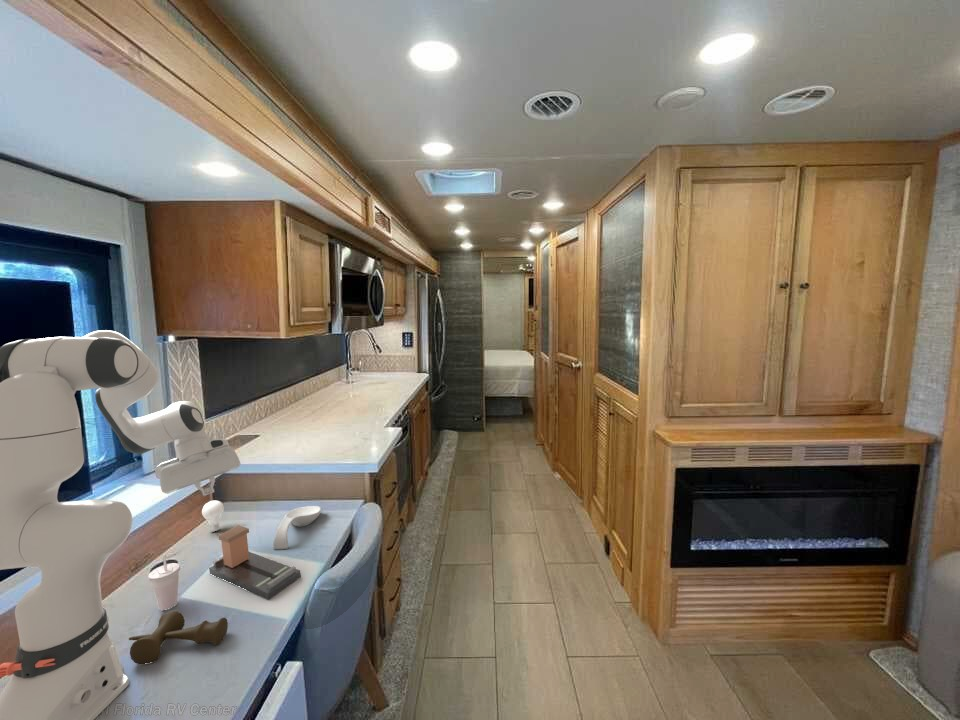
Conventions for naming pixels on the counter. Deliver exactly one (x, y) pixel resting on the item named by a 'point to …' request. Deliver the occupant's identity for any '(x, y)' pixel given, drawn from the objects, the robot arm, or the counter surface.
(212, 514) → the lightbulb
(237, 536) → the fader knob
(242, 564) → the fader track
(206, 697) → the counter surface
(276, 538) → the spoon rest
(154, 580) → the smoothie
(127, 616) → the counter surface
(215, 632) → the kendama
